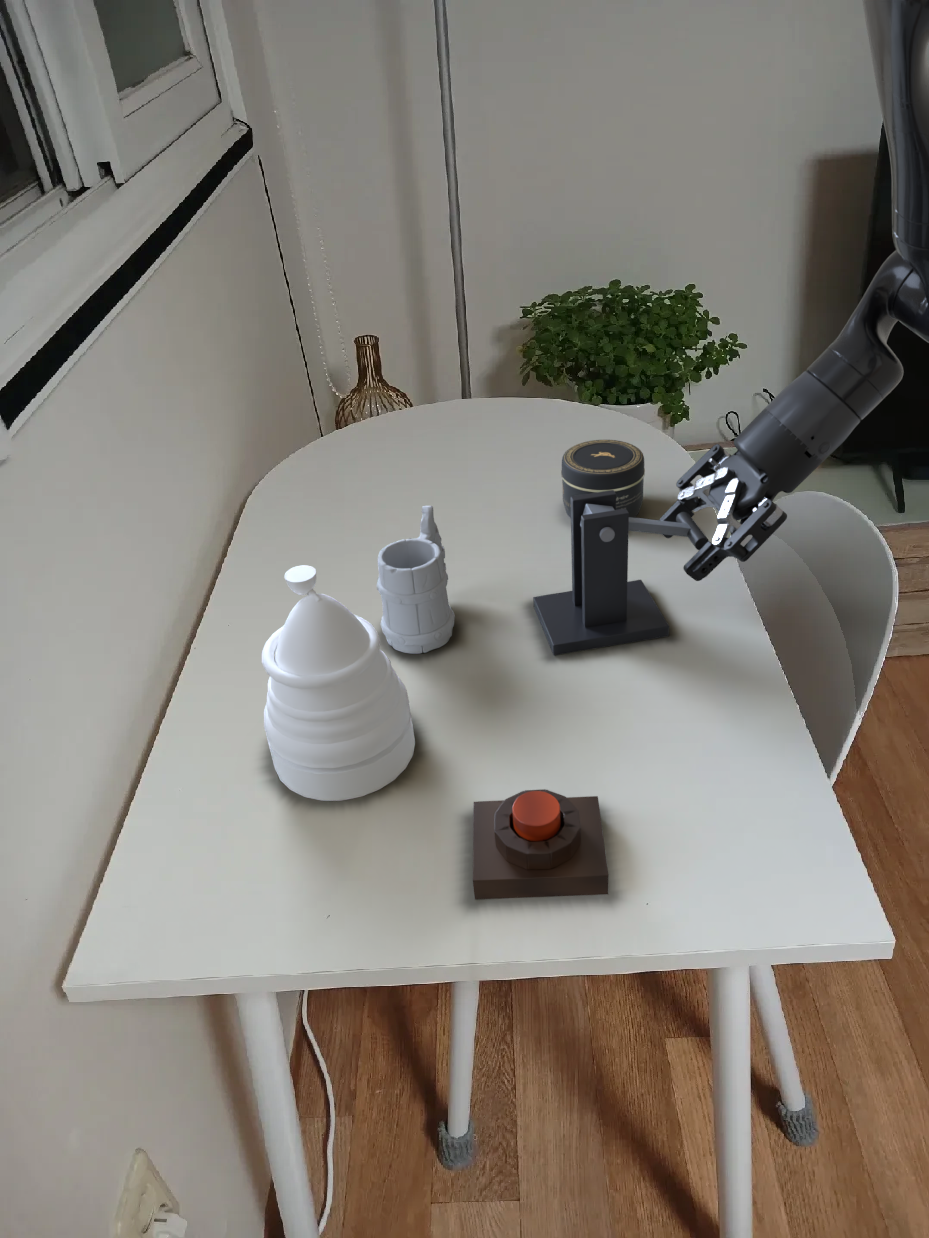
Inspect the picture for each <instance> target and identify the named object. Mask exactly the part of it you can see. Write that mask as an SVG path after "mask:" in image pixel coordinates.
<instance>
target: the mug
mask: <svg viewBox="0 0 929 1238" xmlns="http://www.w3.org/2000/svg"><path fill="white" fill-rule="evenodd" d="M421 514H422V515H421V520H420V525H419V526H420V528H419V529H420V531H419V536H418V537H416V538H414V537H413V538H403V539H398V540H397V541H393V542H391V543H388V544H387V545H385V546H384V547H382V549H380V550H379V552H378V556H377V568H378V578H377V581H376V582H377V583H376V590H377V591H378V593H379V594H380V597H381V603H382V605H381V606H382V615H381V618H380V620H381V621H380V628H381V631H382V634H383V635H384V636H385V639H386V641H387V643H388V645H389V646H391V647H392V648H393V649H394V650H395V651H397V652H401V653H404V654H413V655H414V654H415V655H416V654H423V653H424V654H426V653H428V652H430V651H433V650H436V649H439V648H441V647H443V646H445V645H446V644H447V643H448V642H449V641H450V638H452V636H453V627H454V626H455V618H456V616H455V612H454V610H453V608H452V607H451V606H450V604H449V603H450V602H449V598H448V597H449V596H448V591H447V585H448V582H449V581H448V580H449V576H448V572H447V565H446V562H445V559H446V551H445V547H444V545H443V544H442V543H443V542H442V537H441V535H440V532H439V529H438V525H437V523H436V522H435V518H434V506H433V505H422V506H421Z"/></svg>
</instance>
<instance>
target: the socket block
mask: <svg viewBox="0 0 929 1238" xmlns="http://www.w3.org/2000/svg"><path fill="white" fill-rule="evenodd" d="M531 791H542V792H546V793H549V794H551V795H552V796H554V797H555V798H556V799H557V801H558V802H559V804H560V817H561V825H560V829H559V831H558V832H557V834H556V835H555V836H553V837H552V838H550V839H548V840H545V841H538V842H535V841H529V840H526V839H524V838H522V837H521V836H519V835H518V834H517V832H516V831H515V829H514V825H513V812H512V807H513V804H514V802H515V800H516V799H517V798H518V797H519V796H521V795H522V794H524V793H527V792H531ZM472 818H473V820H472V821H473V822H472V826H473V827H472V889H473V896H474V901H475V900H498V899H500V900H501V899H525V898H550V897H577V896H578V897H579V896H600V895H601V896H603V895H604V896H605V895H609V870H608V863H607V854H606V848H605V847H606V846H605V839H604V832H603V825H602V818H601V809H600V802H599V797H598V795H594V796H570V797H567V796H565V795H562V794H561V793H557V792H555V791H552V790H549V789H545V788H544V789H525V790H522V791H520V792H518V793H515V794H514V795H512V796H511V795H510V796H509V797H507V798H505V799H504V800H503V799H502V800H481V801H473V817H472Z"/></svg>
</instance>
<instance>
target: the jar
mask: <svg viewBox="0 0 929 1238" xmlns="http://www.w3.org/2000/svg"><path fill="white" fill-rule="evenodd" d="M560 471H561V472H560V474H561V484H562V503H563V506H564V507H563V508H564V509H565V513H566V515H567V516H568V517H569V519H571V500H570V497H571V496H577V495H583V494H590V493H596V492H603V491H610V490H614V492H615V493H616V510H619V509H626V510H627V511H628V513H629V517H632V518H637V516H638V515H639V513H640V511H641V508H642V504H643V501H644V478H645V474H646V473H645V472H646V468H645V456H644V453H643V451H642V450H641V449H640V448H638V447H637V446H636V445H633V444H632V443H629V442H626V441H622V440H618V439H617V440H616V439H592V440H587V441H583V442H580V443H577V444H575V445H573V446H571V447H569V448H568V449H567V450H565V452H564V453H563V455H562V457H561V470H560Z"/></svg>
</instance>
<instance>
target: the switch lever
mask: <svg viewBox="0 0 929 1238" xmlns="http://www.w3.org/2000/svg"><path fill="white" fill-rule="evenodd" d="M613 510H614V508H613V507H612V506H604V505H595V504H586V505H585V509H584V512H583V515H587V514H594V513H600V512H607V511H613ZM580 526H581V522H580ZM628 532H635V533H636V532H638V533H646V534H655V535H662V534H664V535H673V537H684V538H688V539H689V541H690V543H691V544H692V545H693V546H694V548H695V549H696V550H697V551H699V550H700V549H701V548H702V547H703V546H704V545H705V544H706V543H707V542H708V541H710V540H709V538H708V537H707V536H706V534H705V533H704V532H703V530H702V529H701V528H700V527H699V525H698V524H697V523H696V521H695V519H693V518H692V517H691V516H690V515H689V514H688V513H687V512H681V513H679V514H678V515H677V517H676V522H669V521H660V519H651V518H649V519H648V518H642V517H641V518H640V517H635V518H632V517H629V529H628Z"/></svg>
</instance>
